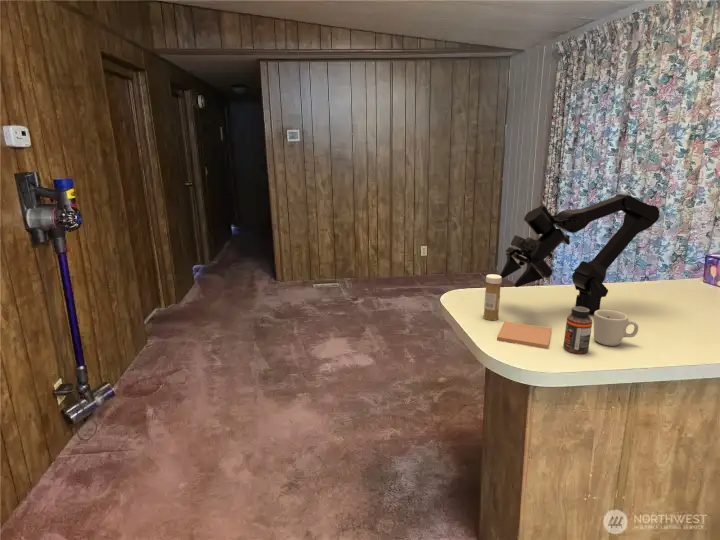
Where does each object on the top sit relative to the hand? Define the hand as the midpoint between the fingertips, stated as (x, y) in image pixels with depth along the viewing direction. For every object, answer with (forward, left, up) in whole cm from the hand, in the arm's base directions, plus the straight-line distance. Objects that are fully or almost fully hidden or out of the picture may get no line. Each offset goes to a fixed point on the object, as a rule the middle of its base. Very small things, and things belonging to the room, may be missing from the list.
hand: (507, 281), depth 143 cm
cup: (-29, +8, -12) cm, 32 cm away
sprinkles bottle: (+4, +3, -12) cm, 12 cm away
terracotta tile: (-7, +13, -11) cm, 18 cm away
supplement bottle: (-20, +17, -12) cm, 29 cm away
